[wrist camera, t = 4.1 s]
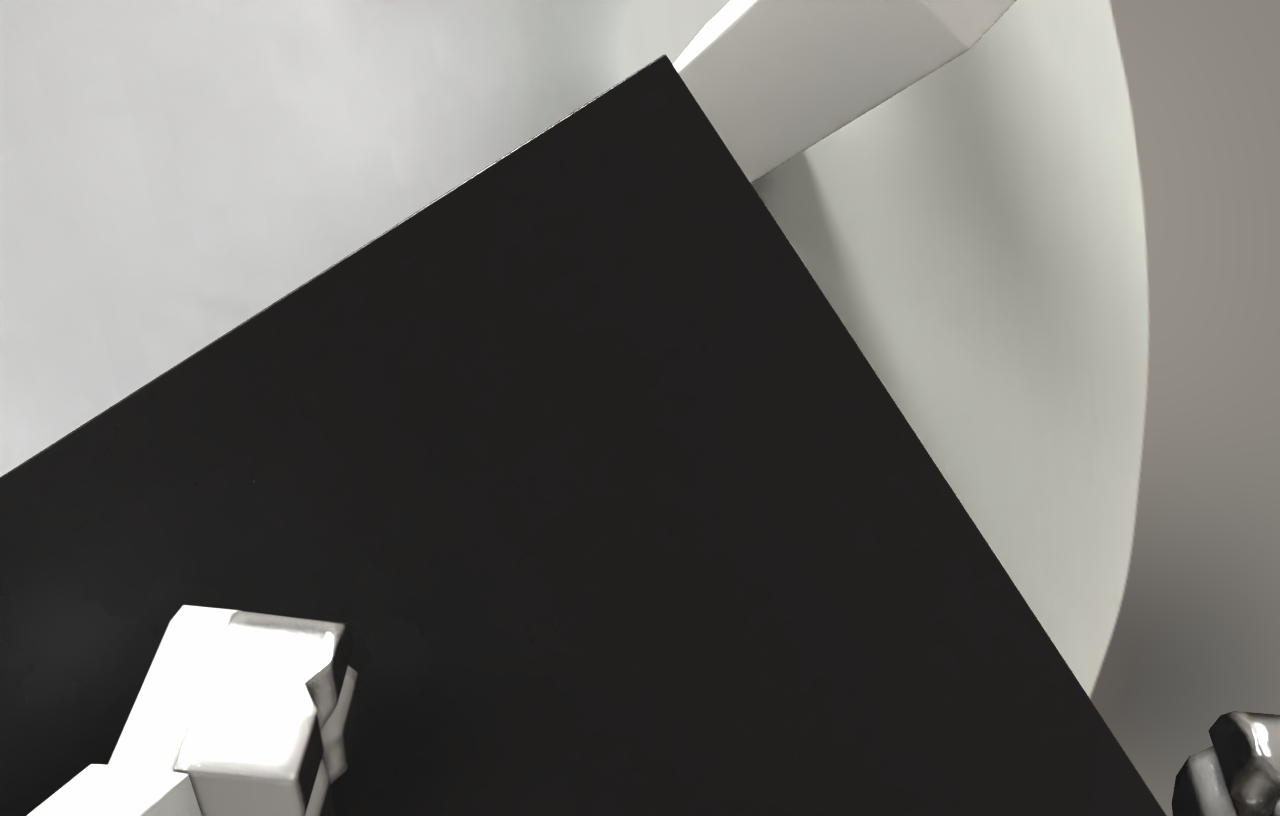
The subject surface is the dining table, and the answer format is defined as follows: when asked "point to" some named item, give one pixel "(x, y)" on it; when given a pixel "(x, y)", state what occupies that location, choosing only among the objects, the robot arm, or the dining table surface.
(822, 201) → the dining table surface
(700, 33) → the milk
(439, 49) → the dining table surface
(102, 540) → the microwave
